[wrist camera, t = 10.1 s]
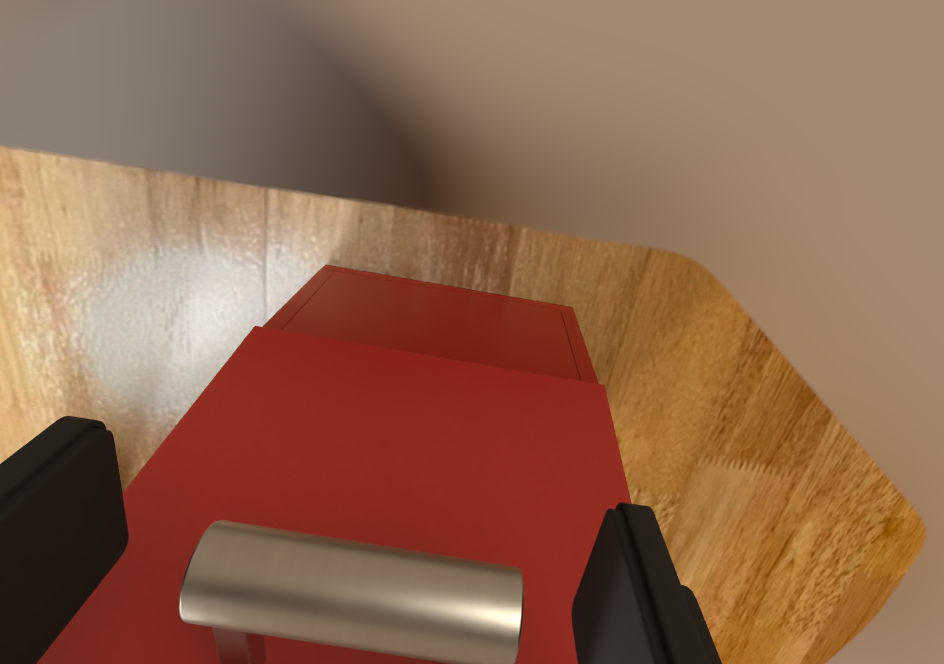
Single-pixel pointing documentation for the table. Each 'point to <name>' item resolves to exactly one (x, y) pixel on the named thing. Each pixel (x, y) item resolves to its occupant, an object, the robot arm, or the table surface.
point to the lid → (358, 515)
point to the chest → (438, 322)
